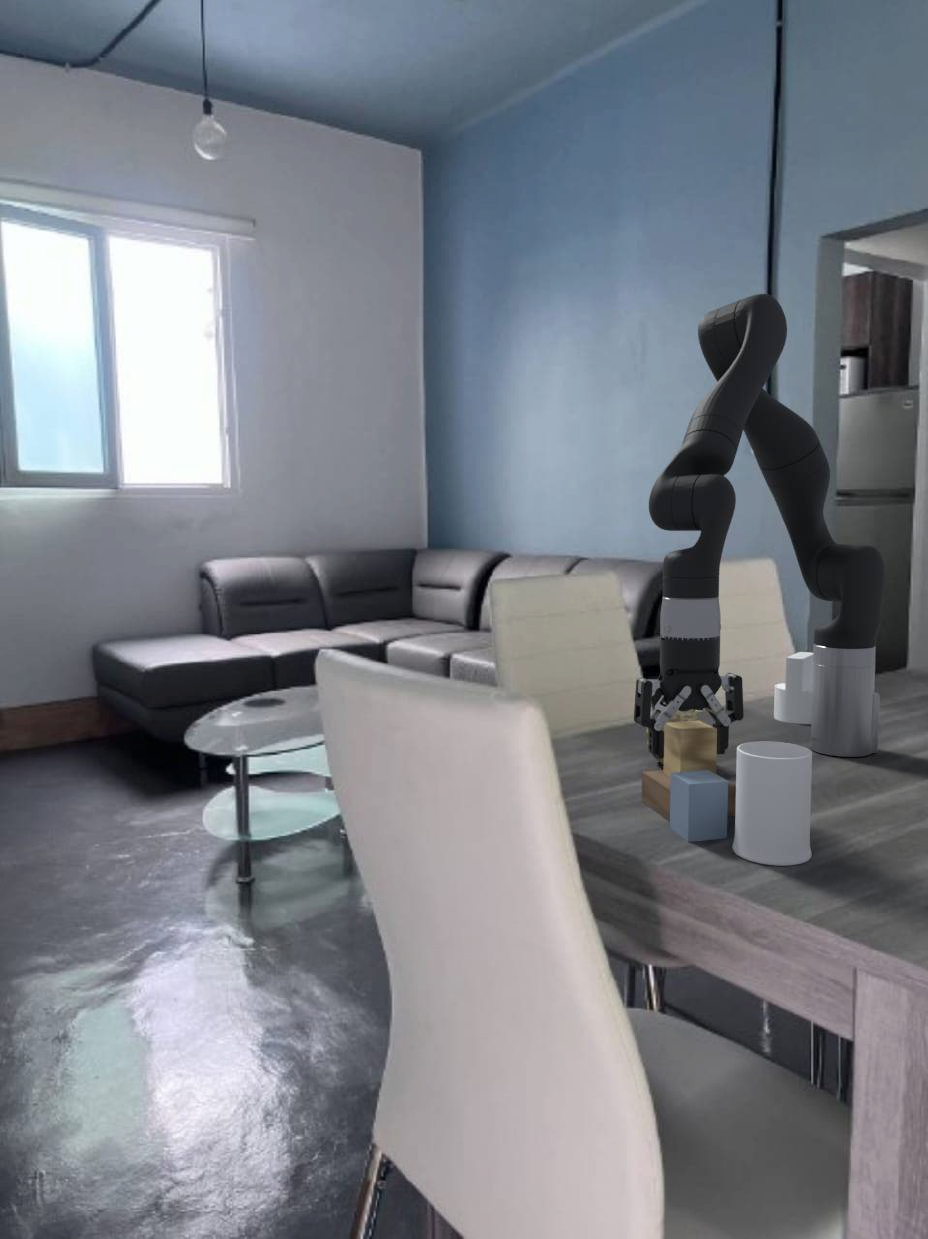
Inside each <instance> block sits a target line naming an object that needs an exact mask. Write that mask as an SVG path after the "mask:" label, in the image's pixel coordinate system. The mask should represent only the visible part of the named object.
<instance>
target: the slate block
mask: <svg viewBox="0 0 928 1239" xmlns="http://www.w3.org/2000/svg"><path fill="white" fill-rule="evenodd" d="M716 774H717V773H716ZM716 774H714V773H713V772H711V771H709V770H702V771H689V772H676V773H671V780H670V821H669V829H670V830H672V831H673V832H674V833H676V834H677V836H679V837H681V838H682V839H683V840H685V841H686V842H687V843H690V842H701V841H702V842H703V841H710V840H722V839H728V817H727V810H728V781H729V780H728V781H727V779H726V778H724V777H722V776H720V775H719V776H718V774H717V775H716ZM721 777H722V778H721ZM723 778H724V779H723ZM725 779H726V780H725Z"/></svg>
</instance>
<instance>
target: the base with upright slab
mask: <svg viewBox="0 0 928 1239" xmlns="http://www.w3.org/2000/svg"><path fill="white" fill-rule="evenodd" d="M784 681H785V682H782V683H778V684H775V685H774V703H773V704H774V705H773V718H774V719H775V720H776V721H779V722H783V723H788V724H790V723H791V724H800V725H811V717H812V684H813V652H810V651H809V652H807V651H797V652H796V653H793V654H791V655H789V656H787V657H786V658H785V680H784Z"/></svg>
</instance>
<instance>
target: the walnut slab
mask: <svg viewBox="0 0 928 1239" xmlns="http://www.w3.org/2000/svg"><path fill="white" fill-rule="evenodd" d="M716 775H718V774H717V773H716ZM718 776H720V775H718ZM720 777H721V778H723V779H725V780H727V779H726V778H724V777H723V776H720ZM670 780H671V779H670V778H668V777H667V776H665V775H663V769H662V770H661V769H660V770H650V771H649V770H648V771H641V802H643V803H644V804H645V805H647V806H648V807H649V808H651V809H652V810H653V811H655V812H656V813H657V814H659V815H661V816H662V817H663V818H664V819H665V820H667V821H668V822H670ZM727 781H728V810H727V818H730V817H735V811H736V783H733V782H731V781H729V780H727Z"/></svg>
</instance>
